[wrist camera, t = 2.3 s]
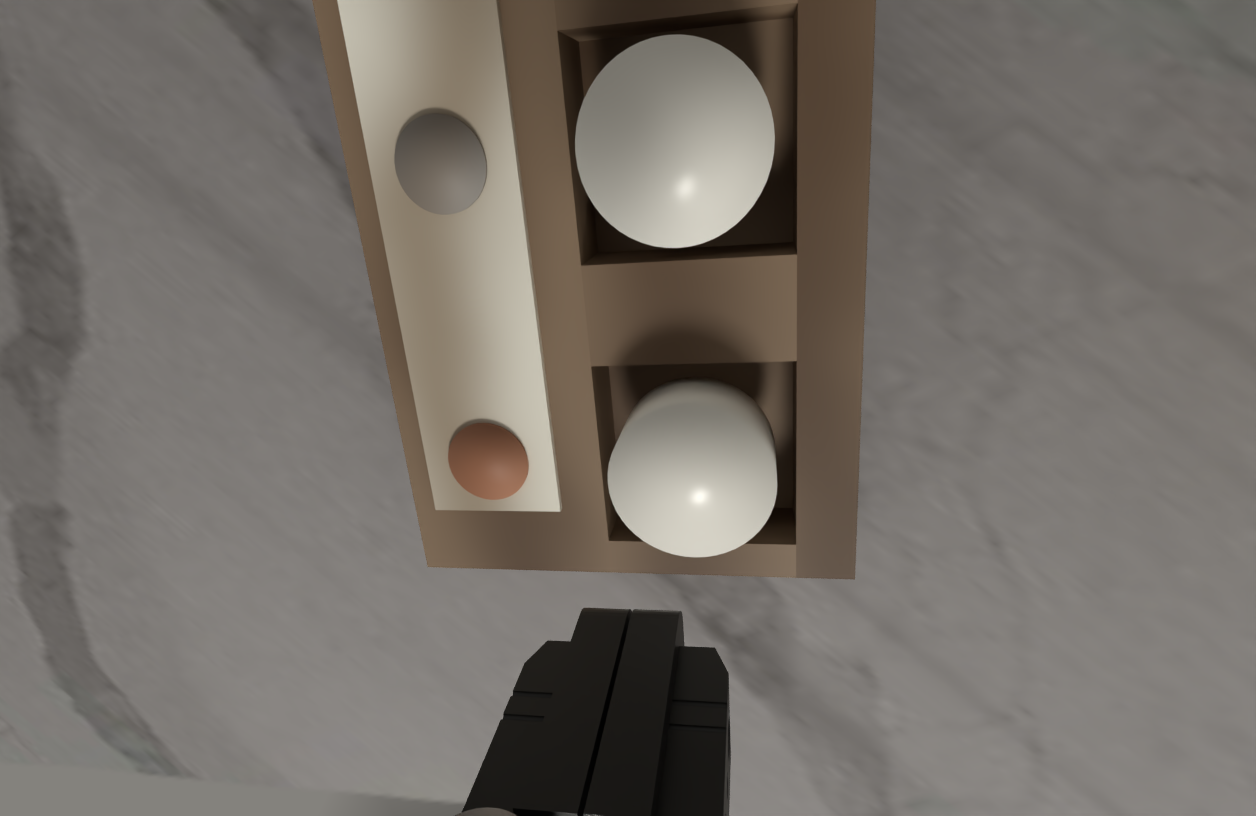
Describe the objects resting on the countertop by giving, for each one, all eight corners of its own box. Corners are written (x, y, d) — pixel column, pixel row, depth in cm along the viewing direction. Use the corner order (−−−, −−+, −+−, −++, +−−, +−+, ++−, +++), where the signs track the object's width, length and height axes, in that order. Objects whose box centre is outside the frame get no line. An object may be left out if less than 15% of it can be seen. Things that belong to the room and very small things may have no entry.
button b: (771, 36, 15) (774, 23, 13) (773, 230, 16) (775, 242, 15) (587, 56, 16) (564, 46, 14) (603, 240, 17) (585, 253, 15)
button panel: (870, -476, 14) (901, -647, 11) (842, 521, 22) (856, 586, 18) (313, -347, 16) (209, -459, 13) (466, 516, 24) (423, 573, 21)
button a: (774, 375, 18) (776, 403, 16) (776, 517, 19) (777, 559, 17) (615, 378, 18) (599, 405, 17) (628, 515, 20) (614, 555, 18)
